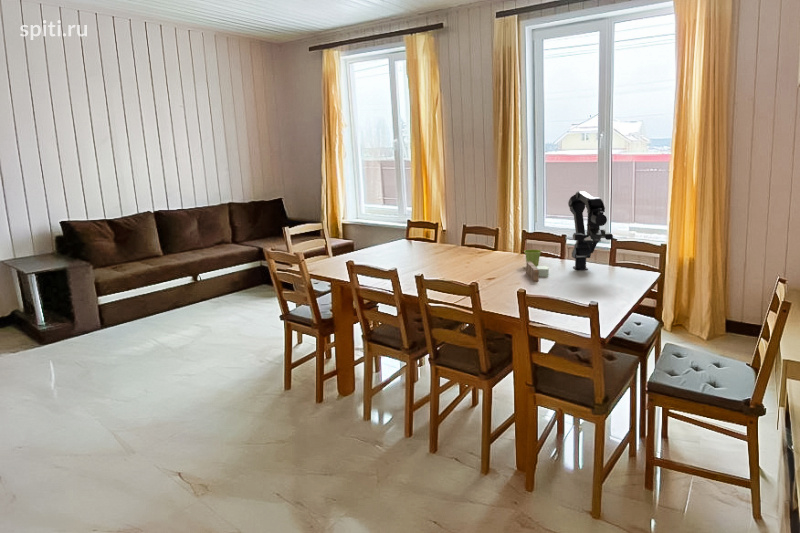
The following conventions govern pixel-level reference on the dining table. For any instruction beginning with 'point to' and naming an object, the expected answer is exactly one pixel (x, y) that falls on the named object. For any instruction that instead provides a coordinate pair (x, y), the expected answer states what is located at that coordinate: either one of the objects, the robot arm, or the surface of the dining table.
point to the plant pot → (532, 256)
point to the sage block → (543, 270)
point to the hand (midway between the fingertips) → (591, 253)
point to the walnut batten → (532, 271)
